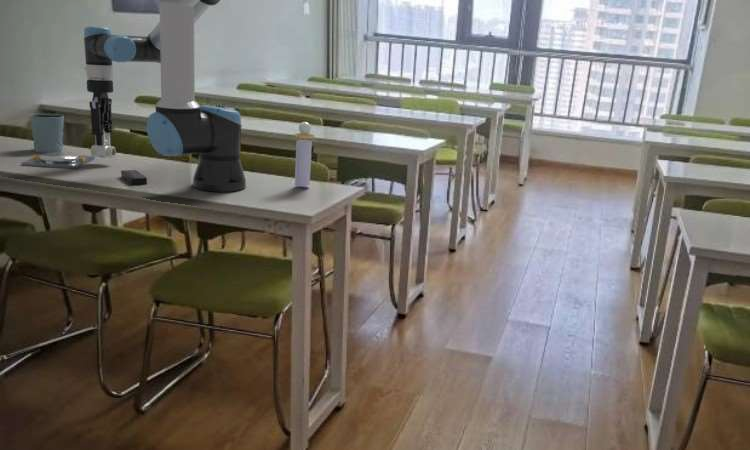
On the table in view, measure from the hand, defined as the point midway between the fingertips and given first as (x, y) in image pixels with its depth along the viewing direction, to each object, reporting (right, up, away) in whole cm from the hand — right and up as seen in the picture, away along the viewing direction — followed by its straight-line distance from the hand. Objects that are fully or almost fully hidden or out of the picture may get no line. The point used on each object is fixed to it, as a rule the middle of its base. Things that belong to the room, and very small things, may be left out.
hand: (103, 154), depth 207 cm
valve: (0, -1, 0) cm, 1 cm away
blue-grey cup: (-25, +3, +15) cm, 29 cm away
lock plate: (-14, -3, -1) cm, 14 cm away
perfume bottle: (+64, -11, -8) cm, 65 cm away
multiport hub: (+16, -10, -16) cm, 24 cm away
